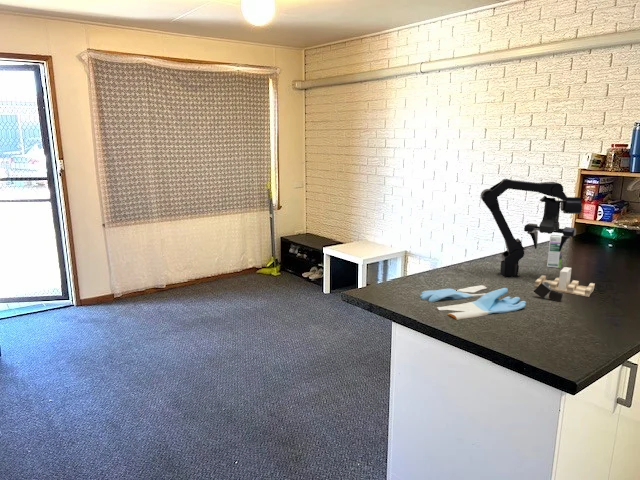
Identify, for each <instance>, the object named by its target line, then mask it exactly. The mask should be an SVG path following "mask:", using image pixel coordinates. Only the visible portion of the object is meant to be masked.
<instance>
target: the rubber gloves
mask: <svg viewBox="0 0 640 480" xmlns="http://www.w3.org/2000/svg"><path fill="white" fill-rule="evenodd" d="M485 289H488V287H486V286H485V285H483V284H482V285H481V284H480V285H475V286H469V287H464V288H460V289H453V288H452V287H451V288H450V287H449V288H441V289H436V290H432V289H431V290H429V289H428V290H424V291H422V292H421V294H420V295H419V298H420V300H421V301H427V300H428V302H429V303H436V302H437V301H440V300H460V299H470V298H477V299H476V300H474V301H469V302H464V303H460V304H452V305H445V306H437V307H436V310H439V311H447V310H448V311H455V312H449V313H447V314H446V315H447V316H448V317H451V318H453V319H455V320H456V321H457V320H458V321H459V320H466V319H472V318H478V317H482V316H484V317H485V316H487V315H491V314H502V313H510V312H515V311H518V310H521V309H524V308H525V307H526V306H527V305H526V304H527V301H526V300H521V298H520V297H519V296H515V297H511V296H505V297H503V298H502V299H501V298H500V297H502V296H504V295H506V294H507V293H508V291H509V289H508V287H502V288H499V289H495V290H492V291H489V292H487V293H485V292H484V293H476V292H479V291H481V290H485ZM456 290H457V291H456ZM478 297H479V298H478ZM499 298H500V299H499ZM456 311H457V312H456Z"/></svg>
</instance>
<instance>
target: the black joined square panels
mask: <svg viewBox="0 0 640 480" xmlns="http://www.w3.org/2000/svg"><path fill="white" fill-rule="evenodd" d="M549 286H550V284H549V283H548V282H544V283H543V282H542V283H541V284H540V285H539V286H538V287H535V289H534V290H533V293H535V294H536V295H537V296H538V297H540V298H541V299H542V300H543V299H544V298H545V297H546V296H547V295H548V298H549V299H550V300H551V301H555V302H561V301H562V298H563V294H564V293H563V292H559V291H554V290H551V288H549Z"/></svg>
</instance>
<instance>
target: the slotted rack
mask: <svg viewBox="0 0 640 480" xmlns="http://www.w3.org/2000/svg"><path fill="white" fill-rule="evenodd" d="M542 282H543V283H544V282H548V283H549V284H550V286H549V288H551V290H552V291H556V292H559V293H567V294H573V295H577V296H582V297H589V298H590V296H591V295H592V293H593V292H594V290H595V284H596V283H593V282H590V283H589V284H588V286H586V285H579V284H580V281H579V280H574V279H572V281H570V284H569V286H568V287H567V289H566V290H563V289H558V285H559V277H555V279H554V280H550V279H547V275H545V274H544V275H542V274H541V275H540V277H538V278H537V279H536V280H535V281H534V285H533V288H537V287H538V286H539V285H540V284H541V283H542Z"/></svg>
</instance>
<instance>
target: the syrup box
mask: <svg viewBox="0 0 640 480" xmlns="http://www.w3.org/2000/svg"><path fill="white" fill-rule="evenodd" d="M561 236H563V235H561V234H549V241H548V242H549V244H548V253H547V261H546V267H548V268H555V269H556V268H557V269H561V268H562V259H563V249H564V247H563V248H562V250H561V251H560V252H559V247H560V243H561Z"/></svg>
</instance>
